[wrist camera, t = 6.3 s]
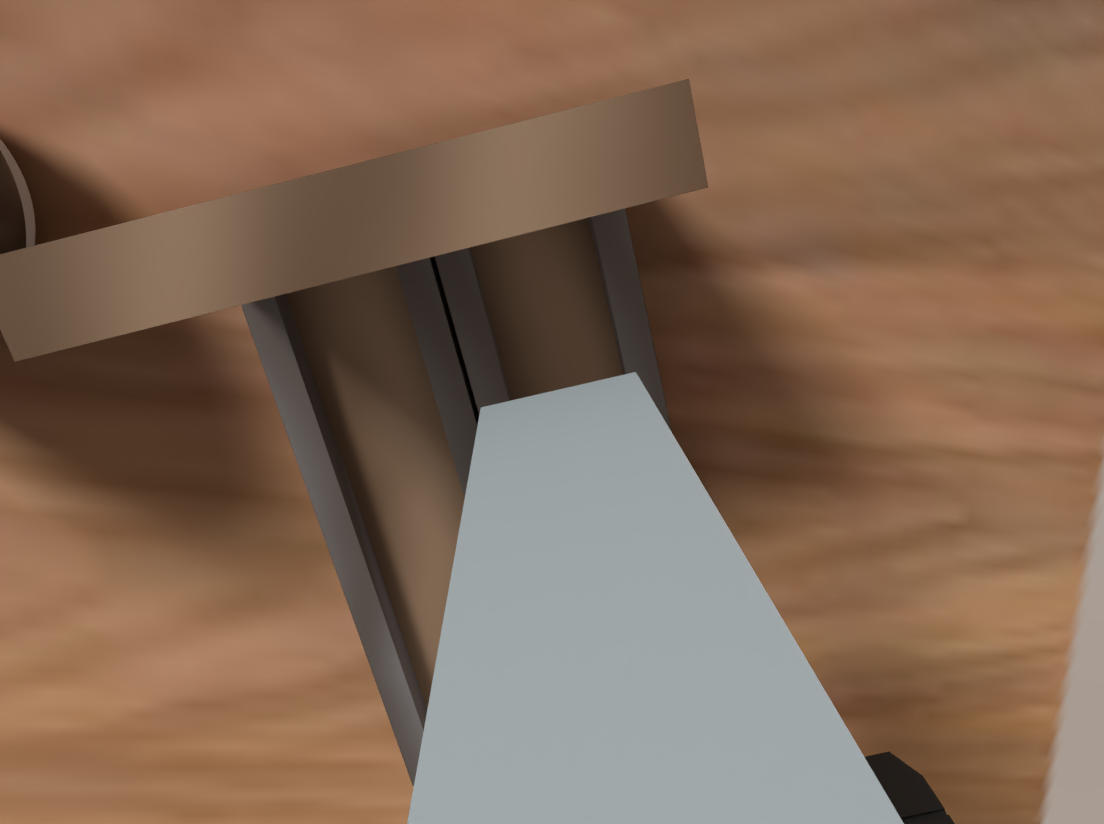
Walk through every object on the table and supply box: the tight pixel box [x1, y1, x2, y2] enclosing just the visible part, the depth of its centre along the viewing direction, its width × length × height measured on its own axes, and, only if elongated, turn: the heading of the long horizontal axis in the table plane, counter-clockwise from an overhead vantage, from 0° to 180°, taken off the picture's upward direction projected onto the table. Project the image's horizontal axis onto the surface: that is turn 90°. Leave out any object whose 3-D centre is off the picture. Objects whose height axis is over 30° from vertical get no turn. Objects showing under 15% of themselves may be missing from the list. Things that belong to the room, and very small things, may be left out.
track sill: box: [0, 79, 708, 786], centre depth 26 cm, size 14×24×15 cm, turn 14°
